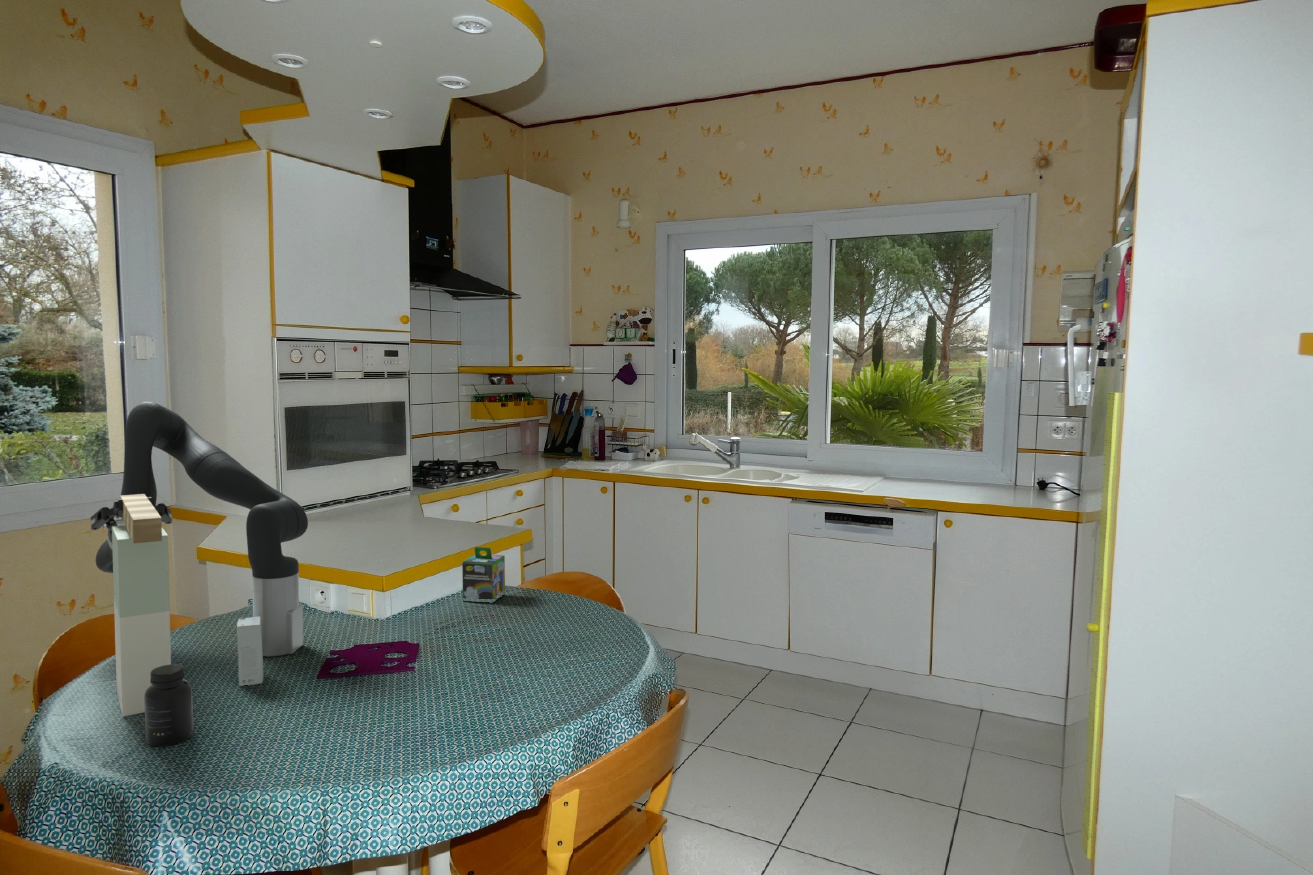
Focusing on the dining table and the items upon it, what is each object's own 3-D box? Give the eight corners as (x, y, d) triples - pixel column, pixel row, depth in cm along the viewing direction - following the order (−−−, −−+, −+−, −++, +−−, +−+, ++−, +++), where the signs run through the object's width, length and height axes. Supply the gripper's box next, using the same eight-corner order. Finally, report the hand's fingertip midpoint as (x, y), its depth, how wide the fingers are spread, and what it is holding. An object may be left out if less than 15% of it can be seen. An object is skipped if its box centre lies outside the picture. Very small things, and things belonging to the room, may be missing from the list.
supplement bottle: (159, 728, 134) (158, 661, 133) (201, 728, 134) (199, 661, 133) (136, 747, 127) (134, 676, 126) (180, 747, 127) (178, 676, 126)
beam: (120, 515, 151) (120, 495, 151) (145, 513, 154) (144, 494, 153) (133, 543, 129) (133, 519, 129) (161, 540, 132) (161, 517, 131)
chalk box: (505, 595, 219) (506, 543, 218) (492, 604, 210) (493, 551, 209) (475, 592, 221) (475, 541, 220) (461, 601, 212) (461, 548, 211)
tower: (116, 690, 149) (111, 526, 146) (162, 681, 153) (158, 522, 151) (122, 716, 138) (117, 539, 135) (171, 706, 142) (167, 535, 140)
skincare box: (263, 683, 154) (262, 624, 153) (237, 687, 152) (236, 626, 151) (263, 672, 159) (262, 615, 158) (238, 675, 157) (237, 617, 156)
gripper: (86, 518, 156) (88, 486, 144) (169, 512, 165) (177, 482, 153) (88, 554, 154) (90, 524, 141) (171, 546, 162) (181, 517, 150)
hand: (135, 502), depth 147 cm, fingers closed on beam, 4 cm apart
